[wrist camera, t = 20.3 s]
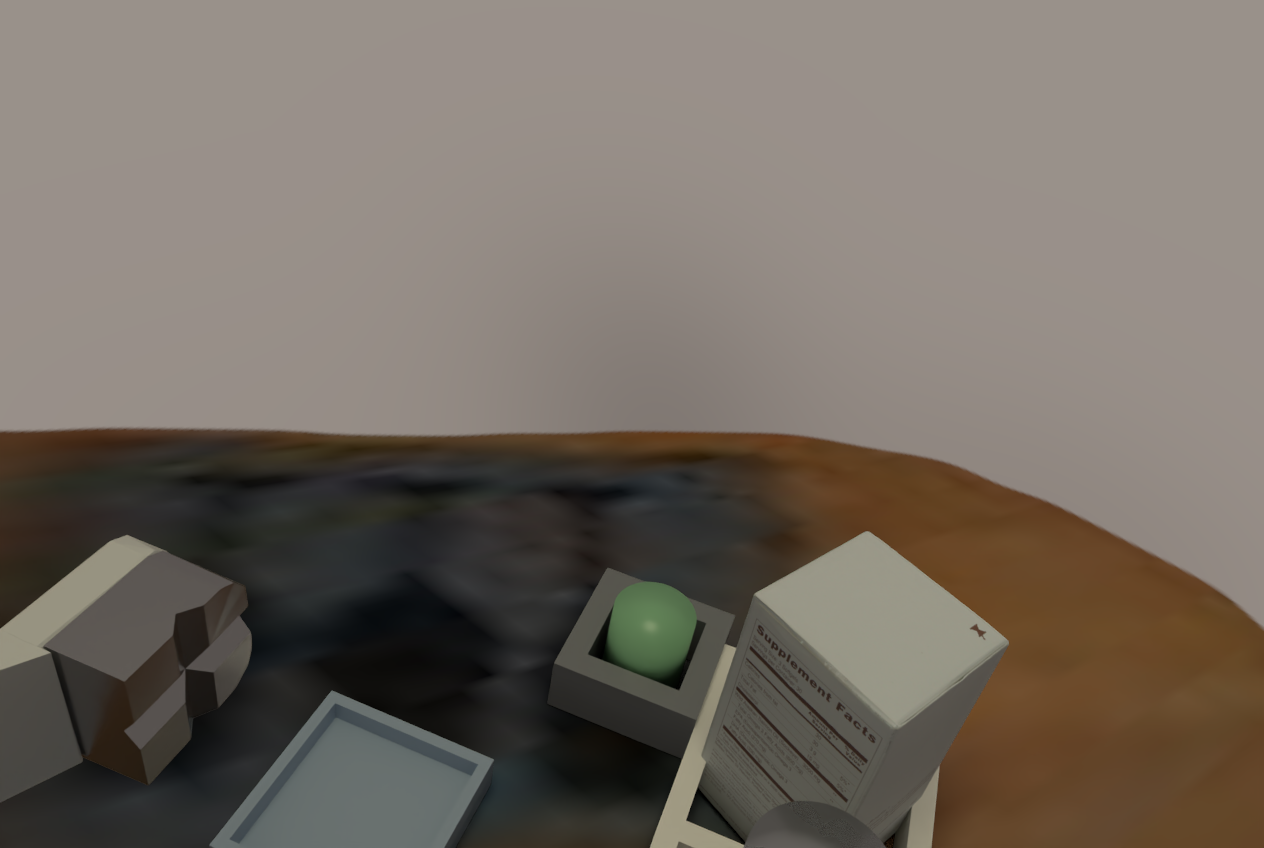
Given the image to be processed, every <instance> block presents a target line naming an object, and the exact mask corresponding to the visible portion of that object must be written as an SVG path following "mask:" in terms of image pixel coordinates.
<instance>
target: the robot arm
mask: <svg viewBox="0 0 1264 848" xmlns="http://www.w3.org/2000/svg"><path fill="white" fill-rule="evenodd" d="M247 607H248V602H247V596H246V590H245V586H244V585H242V584H239V583H237V582H235V581H232V580H230V579H228V578H225V577H223V576H221V575H218V574H216V573H214V572H211V571H209V570H207V569H205V568H202V567H200V566H198V565H195V564H193V563H191V562H188V561H186V560H184V559H181V558H179V557H177V556H174V555H172V554H170V553H168V552H167V551H164V550H162V549H159V548H157V547H155V546H152V545H150V544H147V543H145V542H143V541H140V540H138V539H135V538H133V537H131V536H128V535H126V536H123V537H121V538H118V539H115V540H112V541H110V542H108V543H107V544H106V545H104V546H103V547H102V548H101V549H99V550H98V551H97V552H96V553H94V554H93V555H92V556H91V557H89V558H88V559H87V560H86V561H84V562H83V563H82V564H81V565H79V566H78V567H77V568H76V569H74V570H73V571H72V572H71V573H69V574H68V575H67V576H66V577H64V578H63V579H62V580H61V581H59V582H58V583H57V584H56V585H54V586H53V587H52V588H51V589H49V590H48V591H47V592H46V593H44V594H43V595H42V596H41V597H39V598H38V599H37V600H36V601H34V602H33V603H32V604H31V605H29V606H28V607H27V608H26V609H24V610H23V611H22V612H21V613H19V614H18V615H17V616H16V617H14V618H13V619H12V620H11V621H9V622H8V623H7V624H6V625H4V626H3V627H2V628H1V629H0V802H2V801H4V800H6V799H8V798H10V797H12V796H14V795H16V794H18V793H21V792H23V791H25V790H27V789H29V788H31V787H33V786H35V785H37V784H39V783H41V782H43V781H45V780H47V779H49V778H51V777H53V776H55V775H57V774H59V773H61V772H63V771H65V770H67V769H69V768H71V767H73V766H75V765H77V764H79V763H81V762H82V761H83V759H82V757H84V758H87V759H89V760H91V761H93V762H96V763H98V764H100V765H103V766H105V767H107V768H110V769H112V770H114V771H116V772H119V773H121V774H123V775H126V776H128V777H130V778H133V779H135V780H137V781H140V782H142V783H144V784H146V785H149V784H150V783H151V782H152V781H153V780H154V779H155V778H156V777H157V776H158V774H159V773H160V772H161V771H162V770H163V769H164V768H165V767H166V766H167V764H168V763H169V762H170V761H171V760H172V759H173V758H174V757H175V756H176V755H177V753H178V752H179V751H180V750H181V749H182V748H183V747H184V746H185V745H186V743H187V742H188V741H189V740H190V739H191V734H192V724H193V718H194V717H197V716H199V715H202V714H204V713H207V712H209V711H212V710H214V709H217V708H219V707H220V705H221V704H222V703H223V702H224V701H225V700H226V699H227V697H228V696H229V695H230V694H231V693H232V692H233V690H234V689H235V688H236V686H237V684H238V682H239V681H240V679H241V677H242V675H243V673H244V671H245V669H246V668H247V666H248V663H249V658H250V654H251V649H252V641H251V632H250V630H249V629H248V627H247V626H246V625H245V623H244V622H243V620H242V619H241V617H240V616H239V615H240V614H241V613H242V612H243V611H244V610H245V609H246V608H247Z"/></svg>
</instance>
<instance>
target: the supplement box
mask: <svg viewBox="0 0 1264 848" xmlns="http://www.w3.org/2000/svg"><path fill="white" fill-rule="evenodd" d="M1008 645H1009V641H1008V640H1007V639H1006V638H1004V637H1003V636H1002V635H1001V634H1000V633H999V632H997V631H996V630H995V629H994V628H993V627H992V626H990V625H989V624H988V623H987V622H986V621H984V620H983V619H982V618H981V617H979V616H978V615H977V614H976V613H974V612H973V611H972V610H970V609H969V608H968V607H967V606H965V605H964V604H963V603H961V602H960V601H959V600H958V599H956V598H955V597H954V596H952V595H951V594H950V593H949V592H947V591H946V590H945V589H943V588H942V587H941V586H939V585H938V584H937V583H935V582H934V581H933V580H932V579H930V578H929V577H928V576H927V575H925V574H924V573H923V572H922V571H920V570H919V569H918V568H916V567H915V566H914V565H912V564H911V563H910V562H909V561H907V560H906V559H905V558H903V557H902V556H901V555H899V554H898V553H897V552H896V551H895V550H893V549H892V548H891V547H889V546H888V545H887V544H886V543H884V542H883V541H882V540H880V539H879V538H877V537H876V536H875V535H873V534H872V533H870V532H867V531H866V532H864V533H862V534H860V535H858V536H857V537H855V538H853V539H851V540H850V541H848V542H846V543H844V544H843V545H841V546H839V547H837V548H835V549H834V550H832V551H830V552H828V553H826V554H825V555H823V556H821V557H819V558H817V559H816V560H814V561H812V562H810V563H809V564H807V565H805V566H803V567H801V568H800V569H798V570H796V571H794V572H793V573H791V574H789V575H787V576H785V577H784V578H782V579H780V580H778V581H776V582H774V583H773V584H771V585H769V586H767V587H766V588H764V589H762V590H760V591H758V592H756V593H755V594H754V595H753V599H752V603H751V606H750V609H749V612H748V615H747V618H746V620H745V623H744V627H743V630H742V632H741V636H740V639H739V642H738V645H737V648H736V651H735V654H734V657H733V660H732V663H731V666H730V669H729V672H728V674H727V678H726V681H725V684H724V687H723V690H722V693H721V696H720V699H719V702H718V705H717V708H716V711H715V714H714V717H713V720H712V723H711V726H710V729H709V733H708V736H707V739H706V742H705V745H704V748H703V751H702V754H701V756H702V758H703V759H704V760H705V761H706V764H705V767H704V769H703V772H702V775H701V778H700V781H699V784H698V788H699V789H700V791H701V792H702V793H703V794H704V795H705V796H706V798H707V799H708V800H709V801H710V802H711V804H712V805H713V806H714V807H715V808H716V809H717V810H718V811H719V812H720V813H721V815H722V816H723V817H724V818H725V820H726V821H727V822H728V823H729V824H730V825H731V826H732V827H733V829H734V830H735V831H736V832H737V833H738V834H739V835H740V837H741V838H742V839H743V840H744V841H745V842H746V840H747V838H748V836H749V833H750V832H751V830H752V828H753V826H754V825H755V824H756V822H757V821H758V820H759V819H760V818H761V817H762V816H763V815H764V814H765V813H766V812H768V811H769V810H771V809H773V808H775V807H777V806H779V805H782V804H785V803H788V802H795V801H813V802H820V803H824V804H828V805H831V806H834V807H837V808H839V809H841V810H843V811H845V812H847V813H849V814H851V815H852V816H854V817H856V818H857V819H858V820H860V821H861V822H862V823H864V824H865V825H866V826H867V827H868V828H869V829H871V830H872V831H873V832H874V833H875V835H876V836H877V837H878V838H879V839H880V840H881V841H882V843H884V842H885V841H886V840H888V839H889V838H890V837H891V836H892V835H893V834H894V833H895V832H897V831H898V830H899V828H900V826H901V825H902V823H903V821H904V819H905V818H906V816H907V814H908V812H909V811H910V809H911V807H912V806H913V805H914V804H915V803H916V802H917V801H918V800H919V799H920V798H921V797H922V795H923V793H924V791H925V790H926V788H927V786H928V784H929V782H930V781H931V779H932V777H933V775H934V774H935V772H936V770H937V769H938V767H939V765H940V763H941V762H942V760H943V758H944V757H945V755H946V753H947V751H948V749H949V748H950V746H951V744H952V743H953V741H954V739H955V737H956V736H957V734H958V732H959V730H960V729H961V727H962V725H963V723H964V722H965V720H966V718H967V716H968V715H969V713H970V711H971V710H972V708H973V706H974V704H975V703H976V701H977V699H978V697H979V696H980V694H981V692H982V690H983V689H984V687H985V685H986V683H987V682H988V680H989V678H990V677H991V675H992V673H993V671H994V670H995V668H996V666H997V664H998V663H999V661H1000V659H1001V657H1002V655H1003V654H1004V652H1005V650H1006V649H1007V647H1008Z"/></svg>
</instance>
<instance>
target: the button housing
mask: <svg viewBox="0 0 1264 848" xmlns="http://www.w3.org/2000/svg"><path fill="white" fill-rule="evenodd" d="M641 582H645V581H642V580H639V579H637V578H634V577H631V576H629V575H626V574H623V573H621V572H618V571H615V570H613V569H610V568H607V569H606V571H605V573H604V575H603V577H602V578H601V580H600V582H599V584H598V586H597V587H596V589H595V591H594V593H593V594H592V596H591V598H590V600H589V602H588V603H587V605H586V607H585V609H584V611H583V612H582V614H581V616H580V618H579V620H578V621H577V623H576V625H575V627H574V628H573V630H572V632H571V634H570V636H569V637H568V639H567V641H566V643H565V645H564V646H563V648H562V650H561V652H560V653H559V655H558V657H557V659H556V661H555V662H554V666H553V672H552V678H551V684H550V690H549V696H548V702H547V704H549V705H551V706H554V707H556V708H559V709H561V710H564V711H566V712H569V713H571V714H573V715H576V716H578V717H581V718H583V719H586V720H588V721H591V722H593V723H595V724H598V725H600V726H603V727H605V728H608V729H610V730H612V731H615V732H617V733H620V734H622V735H625V736H627V737H630V738H632V739H634V740H637V741H639V742H642V743H644V744H647V745H649V746H652V747H654V748H656V749H659V750H661V751H664V752H666V753H669V754H671V755H674V756H676V757H678V758H681V759H683V756H684V754H685V751H686V748H687V746H688V743H689V740H690V738H691V735H692V732H693V729H694V727H695V724H696V721H697V719H698V716H699V713H700V710H701V708H702V705H703V702H704V700H705V697H706V694H707V692H708V689H709V686H710V683H711V681H712V678H713V675H714V673H715V670H716V667H717V664H718V662H719V659H720V656H721V654H722V651H723V648H724V645H725V644H726V642H727V639H728V636H729V633H730V630H731V627H732V624H733V621H734V618H735V615H732V614H730V613H727V612H724V611H722V610H719V609H716V608H714V607H711V606H708V605H706V604H703V603H700V602H698V601H695V600H692V599H690V598H688V599H689V601H690V602H691V603H692V605H693V607H694V609H695V612H696V616H697V622H696V626H695V630H694V633H693V637H692V640H691V643H690V647H689V650H688V654H687V657H686V659H687V660H690V661H691V663H690V665H689V668H688V670H687V673H686V675H685V678H684V680H683V683H682V685H681V688H680V690H676V689H674V688H671V687H669V686H666V685H664V684H661V683H659V682H656V681H654V680H651V679H649V678H646V677H643V676H641V675H638V674H636V673H633V672H631V671H628V670H626V669H623V668H621V667H618V666H616V665H613V664H611V663H608V662H606V661H603V660H601V659H598V657H599V655H600V654H601V652H602V650H603V648H604V646H605V644H606V639H607V634H608V630H609V625H610V620H611V616H612V611H613V606H614V602H615V599H616V597H617V596H618V594H619V593H620V592H621V591H622V590H623V589H625V588H626V587H628V586H630V585H633V584H636V583H641Z"/></svg>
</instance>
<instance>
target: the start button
mask: <svg viewBox="0 0 1264 848" xmlns="http://www.w3.org/2000/svg"><path fill="white" fill-rule="evenodd" d="M696 622H697V616H696V612H695V609H694V607H693V605H692V603H691V602H690V601H689V599H688V598H687V597H686V596H685V595H684V594H682V593H681V592H680V591H678V590H676V589H675V588H673V587H670V586H668V585H665V584H661V583H656V582H641V583H636V584H633V585H630V586H628V587H626V588H625V589H623V590H622V591H621V592H620V593H619V594H618V596H617V597H616V599H615V602H614V606H613V611H612V616H611V620H610V625H609V630H608V634H607V639H606V644H605V648H604V653H603V658H602V660H603V661H606V662H608V663H611V664H613V665H616V666H618V667H621V668H623V669H626V670H628V671H631V672H633V673H636V674H638V675H641V676H643V677H646V678H649V679H651V680H654V681H656V682H659V683H661V684H664V685H666V686H669V687H671V688H674V689H675V688H676V687H677V685H678V683H679V681H680V678H681V674H682V671H683V667H684V664H685V661H686V657H687V654H688V650H689V647H690V643H691V640H692V637H693V633H694V630H695V626H696Z"/></svg>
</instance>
